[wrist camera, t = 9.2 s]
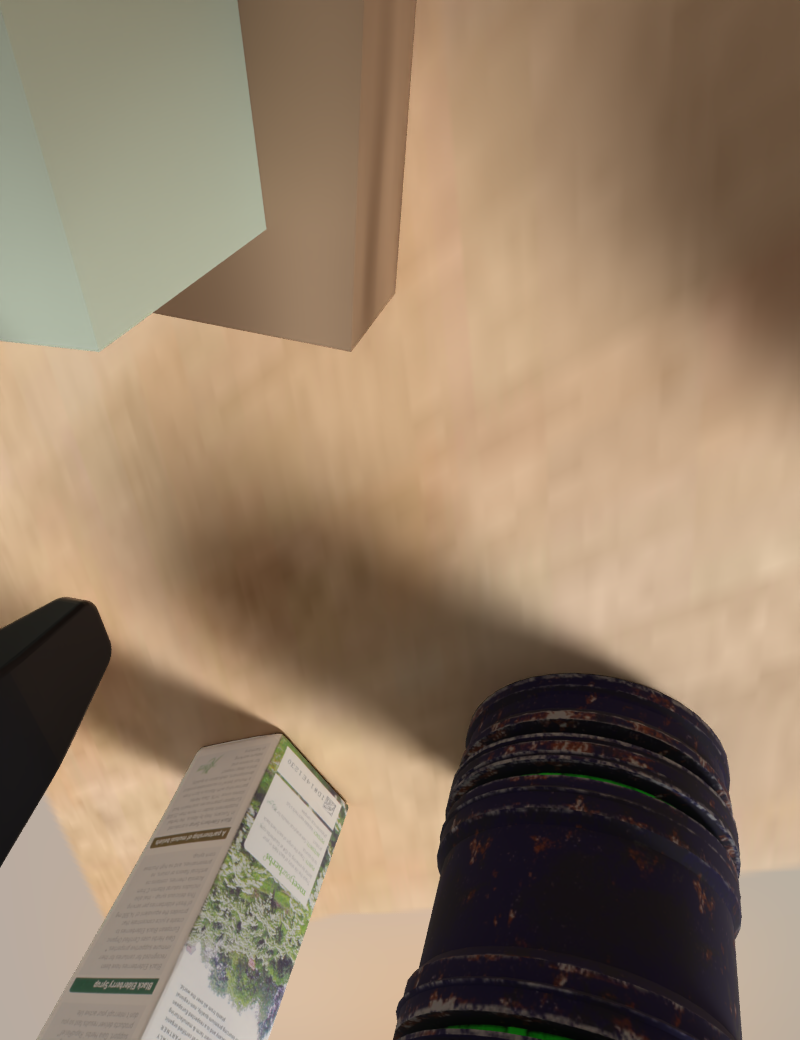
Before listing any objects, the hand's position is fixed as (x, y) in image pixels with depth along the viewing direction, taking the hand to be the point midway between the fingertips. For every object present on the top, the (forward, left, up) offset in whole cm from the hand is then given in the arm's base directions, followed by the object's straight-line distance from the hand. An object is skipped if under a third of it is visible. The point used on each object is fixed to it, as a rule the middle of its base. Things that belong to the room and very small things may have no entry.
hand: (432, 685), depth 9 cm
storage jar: (-3, +18, -13) cm, 22 cm away
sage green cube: (+8, -5, -9) cm, 13 cm away
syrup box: (+11, +24, -13) cm, 29 cm away
